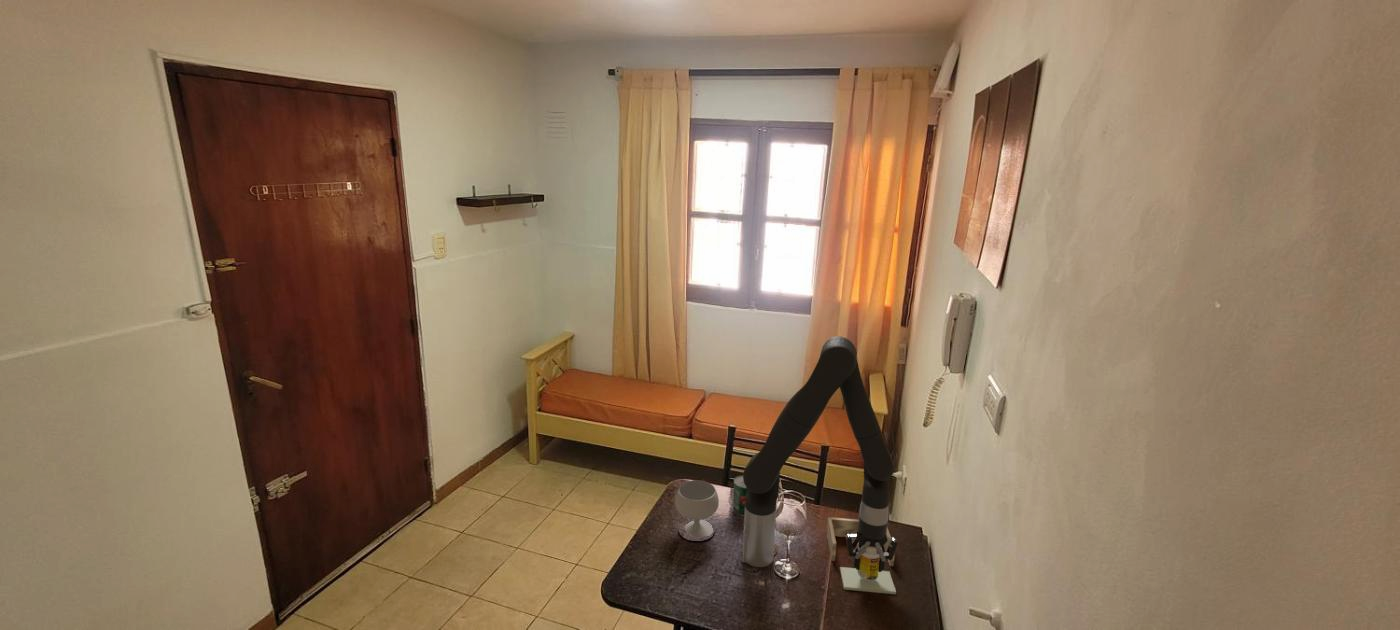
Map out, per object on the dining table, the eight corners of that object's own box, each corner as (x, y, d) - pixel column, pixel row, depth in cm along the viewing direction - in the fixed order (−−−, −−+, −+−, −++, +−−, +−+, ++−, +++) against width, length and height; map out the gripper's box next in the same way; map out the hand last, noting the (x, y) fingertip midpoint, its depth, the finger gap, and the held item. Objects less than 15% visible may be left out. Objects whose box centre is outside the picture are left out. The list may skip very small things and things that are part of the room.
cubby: (831, 560, 157) (832, 543, 156) (826, 533, 170) (827, 517, 169) (893, 566, 155) (895, 548, 154) (883, 538, 168) (885, 521, 167)
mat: (844, 589, 146) (844, 586, 146) (839, 569, 154) (840, 566, 154) (895, 594, 144) (896, 591, 144) (889, 573, 152) (889, 571, 152)
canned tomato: (740, 500, 187) (741, 472, 185) (759, 508, 183) (761, 480, 180) (728, 511, 181) (729, 482, 179) (748, 519, 177) (749, 490, 174)
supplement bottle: (869, 584, 145) (872, 552, 142) (853, 573, 149) (856, 541, 147) (882, 577, 148) (885, 545, 145) (866, 565, 152) (869, 534, 150)
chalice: (718, 545, 163) (719, 502, 160) (673, 544, 163) (673, 501, 160) (717, 518, 177) (718, 478, 174) (676, 517, 177) (676, 477, 174)
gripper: (848, 522, 141) (844, 576, 145) (904, 526, 140) (897, 581, 144) (844, 506, 149) (840, 557, 153) (897, 510, 147) (891, 562, 151)
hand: (868, 568), depth 148 cm, fingers closed on supplement bottle, 5 cm apart
